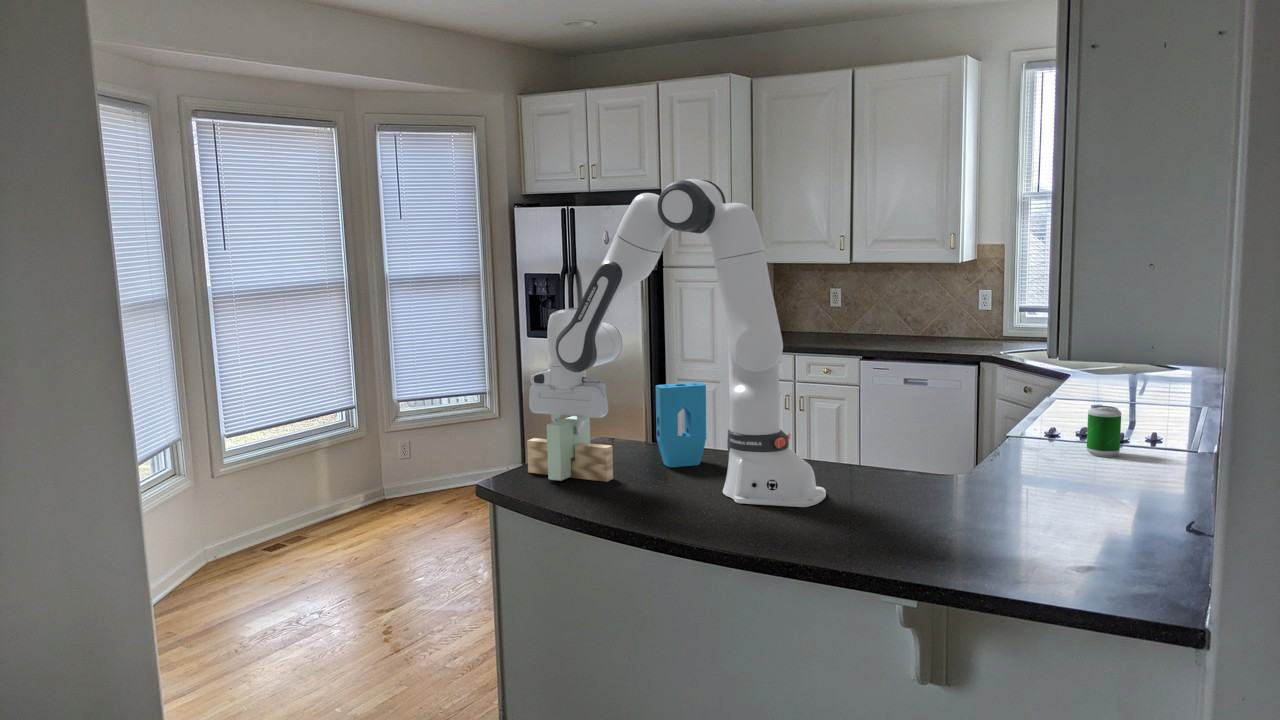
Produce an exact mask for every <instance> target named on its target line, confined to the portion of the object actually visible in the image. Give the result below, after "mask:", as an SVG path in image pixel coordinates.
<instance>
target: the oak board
mask: <svg viewBox="0 0 1280 720" xmlns="http://www.w3.org/2000/svg"><path fill="white" fill-rule="evenodd" d="M526 441H527V442H526V444H527V445H526V446H527V448H526V449H527V472H528V473H530V474H538V475H545V476H546V475H547V476H548V452H547V438H539V437H538V438H537V437H533V438H531V439H527V440H526ZM613 458H614V455H613V445H610V444H599V443H597V444H596V443H591V442H590V443H579V444H577V445H575V458H571V476H570V477H569V478H572V479H581V480H589V481H599V482H605V483H606V482H607V483H608V482H609V481H611V480H614V461H613Z"/></svg>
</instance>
